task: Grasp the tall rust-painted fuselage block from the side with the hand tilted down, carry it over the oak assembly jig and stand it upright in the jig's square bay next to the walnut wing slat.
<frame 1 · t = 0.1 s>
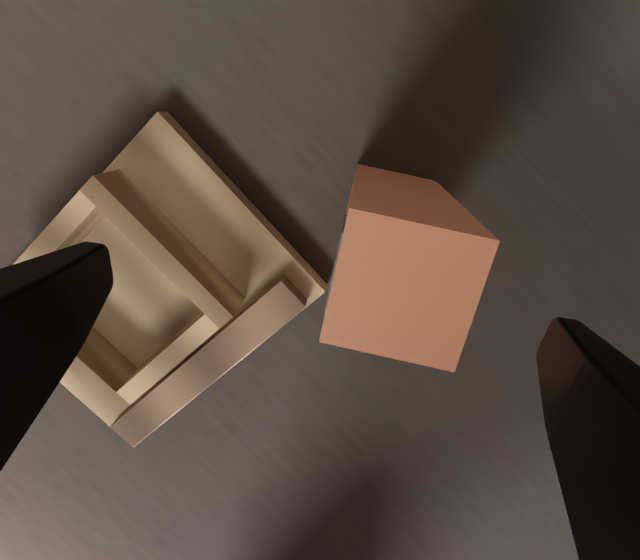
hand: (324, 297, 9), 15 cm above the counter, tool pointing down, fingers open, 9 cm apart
jig: (153, 293, 27), on the counter
fuselage block: (386, 210, 24), on the counter
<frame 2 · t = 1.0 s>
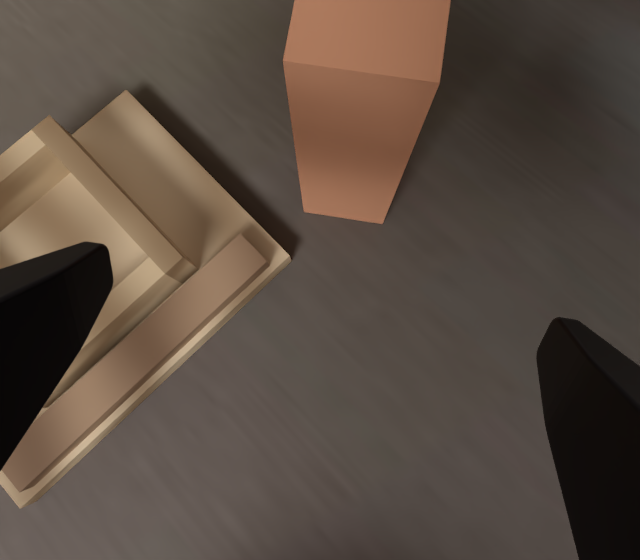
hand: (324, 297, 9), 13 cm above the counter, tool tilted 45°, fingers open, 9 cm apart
jig: (89, 286, 23), on the counter
fuselage block: (349, 180, 24), on the counter
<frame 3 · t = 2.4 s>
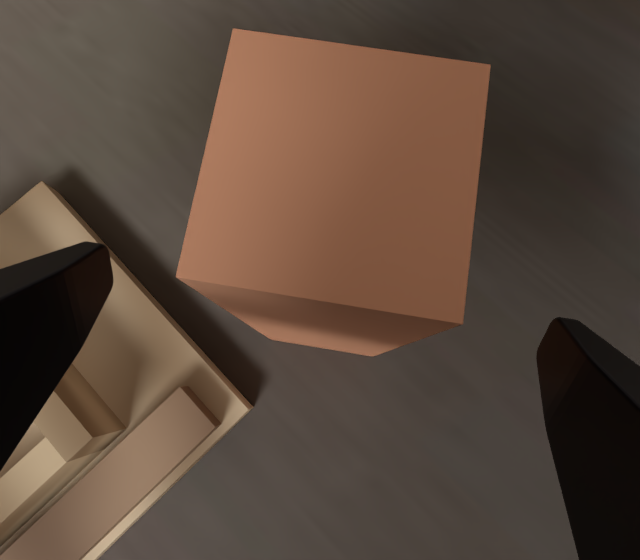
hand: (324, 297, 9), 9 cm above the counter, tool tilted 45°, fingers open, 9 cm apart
fuselage block: (329, 297, 19), on the counter
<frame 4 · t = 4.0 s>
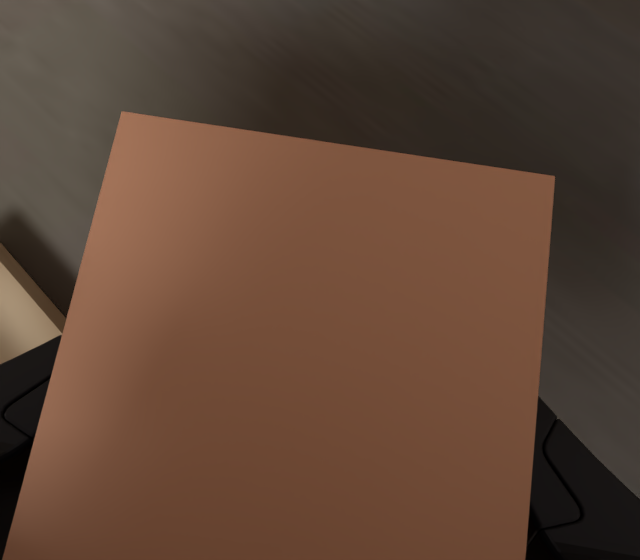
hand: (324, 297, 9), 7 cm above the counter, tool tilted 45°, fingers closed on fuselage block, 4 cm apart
fuselage block: (317, 368, 16), on the counter, touching gripper
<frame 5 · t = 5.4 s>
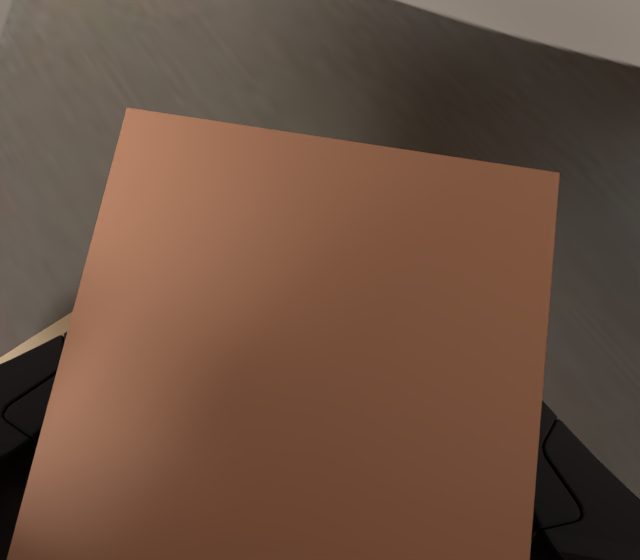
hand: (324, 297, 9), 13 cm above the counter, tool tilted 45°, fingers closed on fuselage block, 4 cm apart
jig: (156, 426, 22), on the counter
fuselage block: (318, 367, 16), point 7 cm above the counter, touching gripper
when the fingers open (9 cm above the counter, at t = 7.2 s): fuselage block drops 1 cm, resting on jig.
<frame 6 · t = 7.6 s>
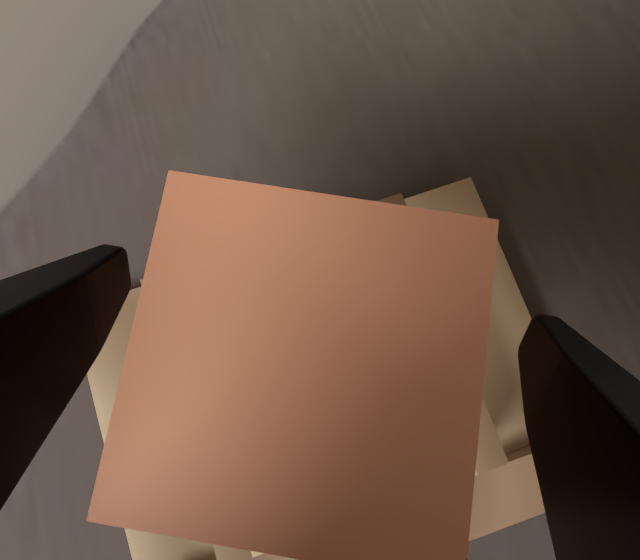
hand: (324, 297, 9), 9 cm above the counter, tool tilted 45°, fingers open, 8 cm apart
jig: (326, 393, 18), on the counter
fuselage block: (318, 367, 17), point 1 cm above the counter, touching jig
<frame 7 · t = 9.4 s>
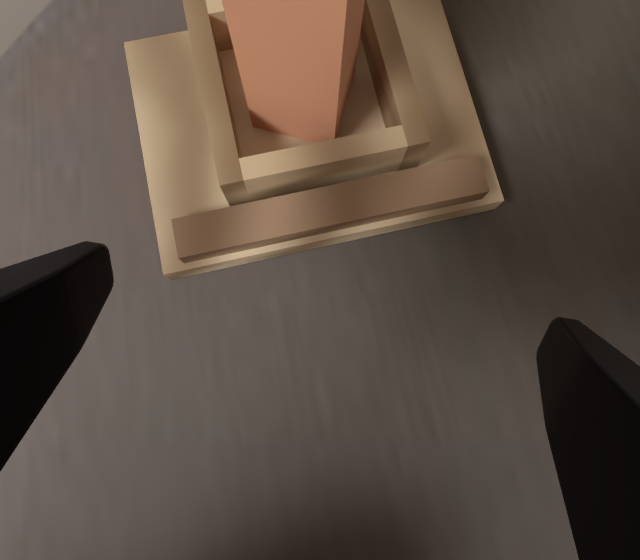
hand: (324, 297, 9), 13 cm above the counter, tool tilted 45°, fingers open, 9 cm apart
jig: (308, 131, 24), on the counter
fuselage block: (304, 100, 23), point 1 cm above the counter, touching jig
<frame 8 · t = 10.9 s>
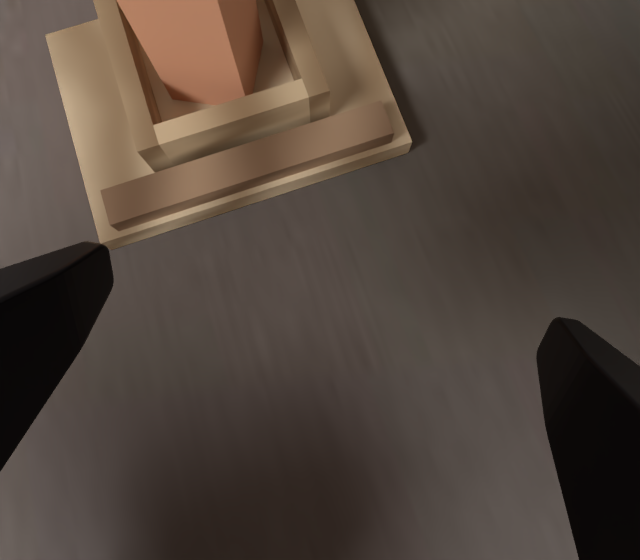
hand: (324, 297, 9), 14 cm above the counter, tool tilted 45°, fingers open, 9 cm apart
jig: (228, 100, 25), on the counter
fuselage block: (218, 69, 24), point 1 cm above the counter, touching jig
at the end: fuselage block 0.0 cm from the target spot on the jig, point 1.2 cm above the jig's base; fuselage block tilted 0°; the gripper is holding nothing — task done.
